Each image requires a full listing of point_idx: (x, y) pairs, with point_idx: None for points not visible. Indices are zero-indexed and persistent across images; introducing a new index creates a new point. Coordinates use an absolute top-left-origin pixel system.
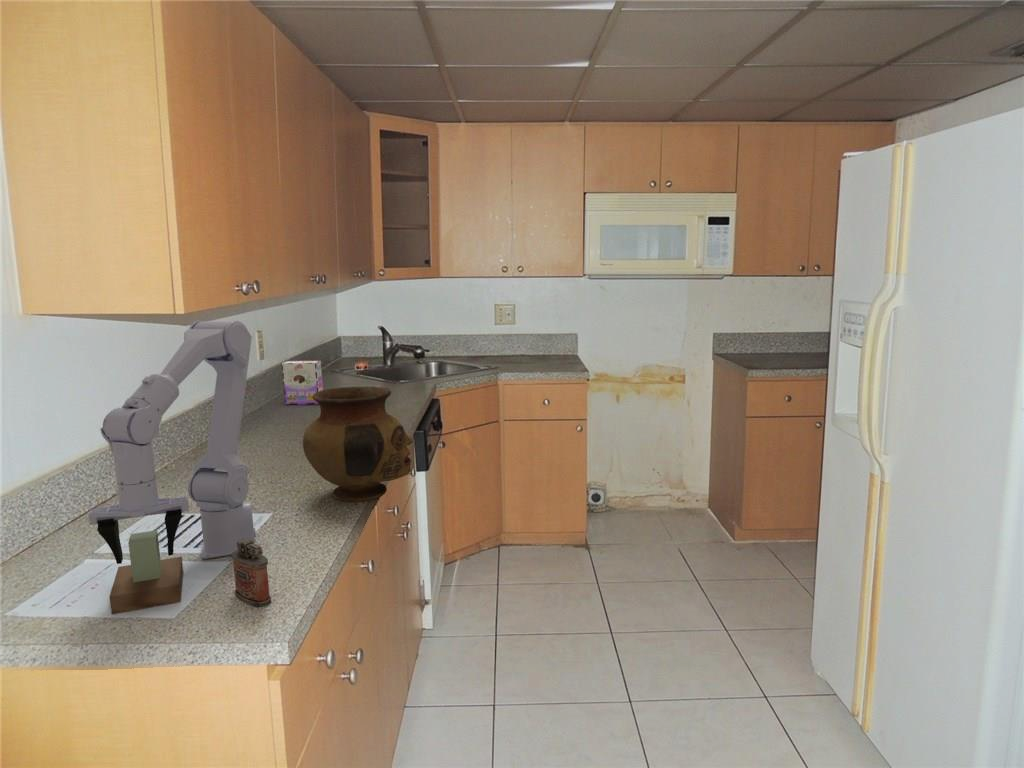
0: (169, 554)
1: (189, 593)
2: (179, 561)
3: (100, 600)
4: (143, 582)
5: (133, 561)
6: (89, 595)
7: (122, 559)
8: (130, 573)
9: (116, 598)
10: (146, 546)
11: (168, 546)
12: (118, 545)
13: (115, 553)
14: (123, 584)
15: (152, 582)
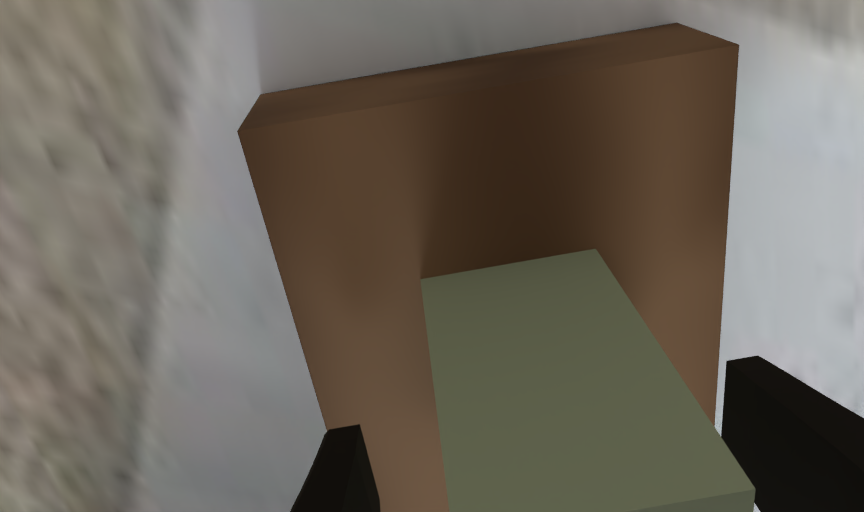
0: (348, 430)
1: (241, 202)
2: None
3: (753, 236)
4: (524, 233)
5: (634, 344)
6: (810, 309)
7: (723, 424)
8: None
9: (681, 47)
10: (543, 457)
11: (341, 483)
12: (828, 502)
13: (827, 407)
14: (657, 234)
15: (458, 216)
